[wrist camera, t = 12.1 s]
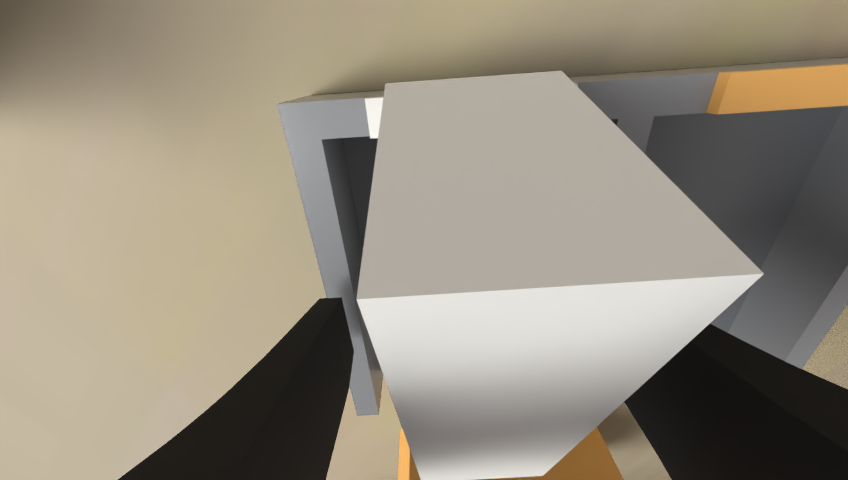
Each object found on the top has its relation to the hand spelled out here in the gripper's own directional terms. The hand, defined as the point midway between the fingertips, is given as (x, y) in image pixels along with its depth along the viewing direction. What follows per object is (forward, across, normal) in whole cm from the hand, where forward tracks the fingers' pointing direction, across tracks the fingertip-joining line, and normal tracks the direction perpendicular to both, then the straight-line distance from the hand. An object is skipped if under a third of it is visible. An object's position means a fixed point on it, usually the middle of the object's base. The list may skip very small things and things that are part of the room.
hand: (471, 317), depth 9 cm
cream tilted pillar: (+1, 0, -2) cm, 2 cm away
